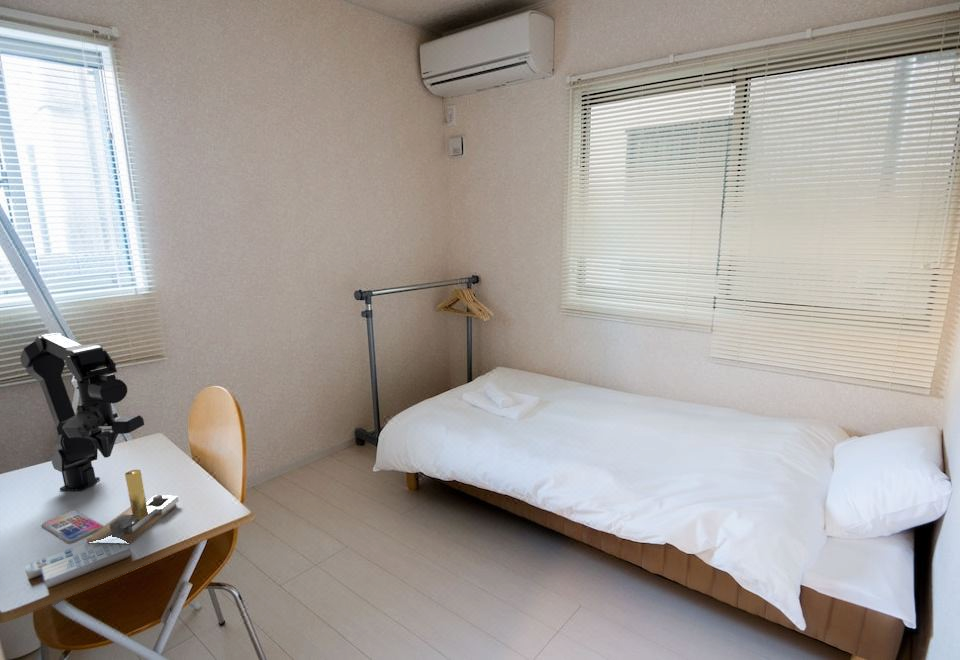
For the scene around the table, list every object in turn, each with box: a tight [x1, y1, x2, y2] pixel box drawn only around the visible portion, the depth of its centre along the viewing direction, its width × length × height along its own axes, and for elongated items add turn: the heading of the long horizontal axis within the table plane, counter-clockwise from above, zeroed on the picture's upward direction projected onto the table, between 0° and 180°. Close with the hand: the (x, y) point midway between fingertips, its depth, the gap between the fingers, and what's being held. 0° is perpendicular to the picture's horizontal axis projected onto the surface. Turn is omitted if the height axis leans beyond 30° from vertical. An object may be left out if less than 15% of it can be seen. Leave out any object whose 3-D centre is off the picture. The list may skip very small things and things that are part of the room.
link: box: [123, 469, 179, 533], centre depth 123 cm, size 14×6×12 cm, turn 175°
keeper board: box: [86, 494, 177, 545], centre depth 124 cm, size 10×16×4 cm, turn 175°
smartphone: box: [41, 510, 105, 544], centre depth 123 cm, size 7×1×15 cm
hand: (107, 456), depth 131 cm, fingers closed
